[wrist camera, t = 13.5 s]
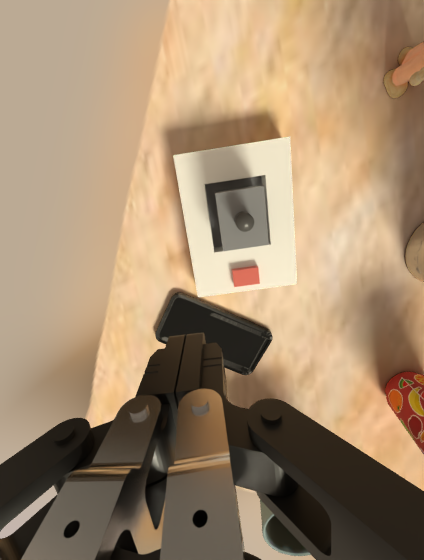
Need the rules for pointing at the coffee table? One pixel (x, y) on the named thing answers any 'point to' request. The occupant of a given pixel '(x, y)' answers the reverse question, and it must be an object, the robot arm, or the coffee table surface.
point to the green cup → (279, 535)
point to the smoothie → (408, 403)
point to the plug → (242, 217)
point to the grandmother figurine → (406, 71)
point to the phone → (216, 331)
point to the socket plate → (205, 224)
